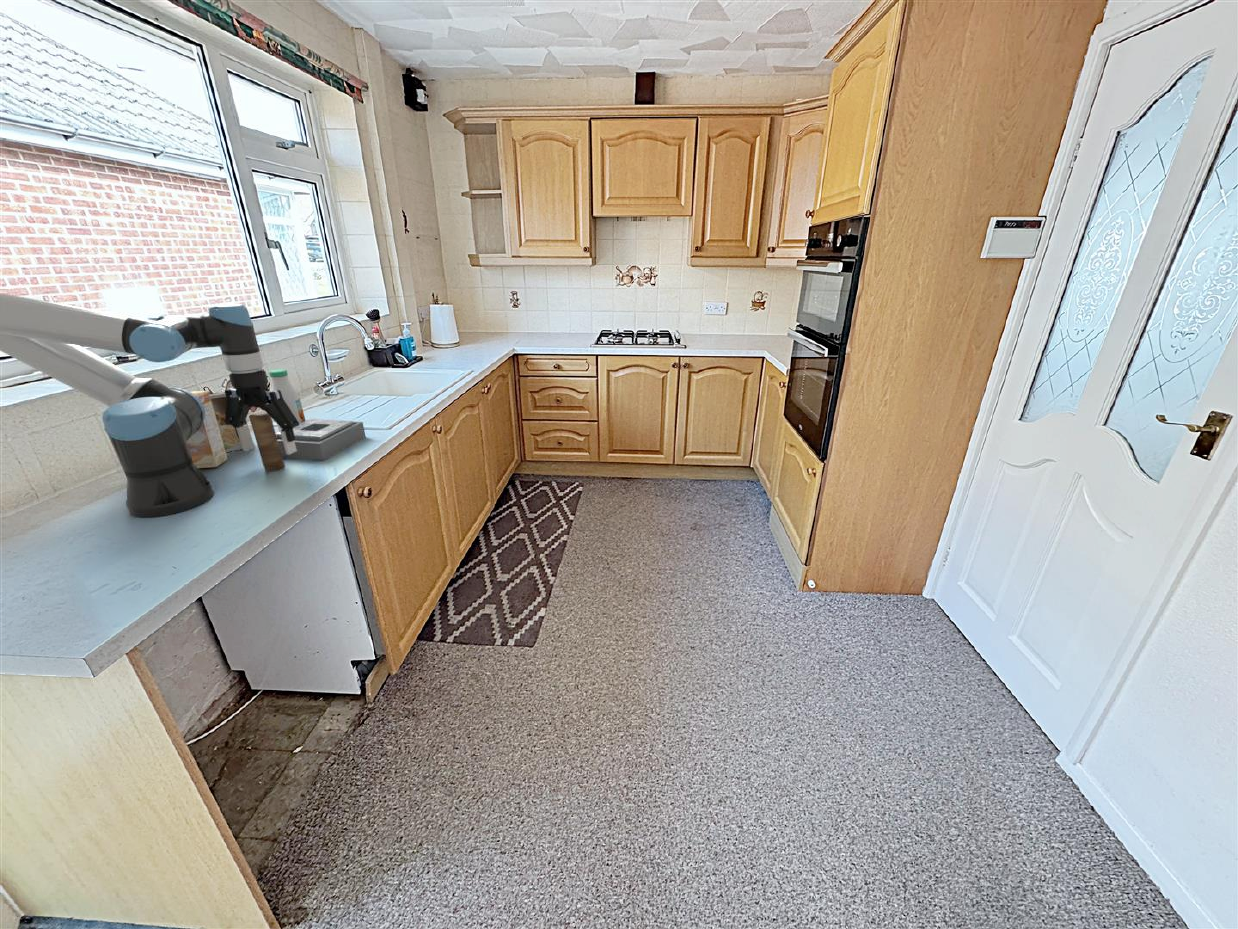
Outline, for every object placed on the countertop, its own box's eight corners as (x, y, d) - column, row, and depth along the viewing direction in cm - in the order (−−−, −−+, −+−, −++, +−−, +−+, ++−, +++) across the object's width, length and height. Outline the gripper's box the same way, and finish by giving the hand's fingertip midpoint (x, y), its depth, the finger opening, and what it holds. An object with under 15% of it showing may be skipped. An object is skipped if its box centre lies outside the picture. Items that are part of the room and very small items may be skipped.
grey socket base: (323, 460, 139) (319, 443, 137) (269, 456, 141) (264, 439, 139) (365, 437, 156) (362, 421, 154) (316, 433, 158) (312, 418, 156)
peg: (276, 472, 131) (260, 417, 125) (260, 471, 132) (244, 416, 126) (289, 465, 135) (274, 412, 129) (274, 464, 136) (258, 411, 130)
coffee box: (251, 441, 152) (236, 389, 145) (255, 447, 147) (239, 394, 141) (214, 448, 146) (196, 395, 140) (216, 455, 142) (198, 400, 135)
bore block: (324, 453, 141) (320, 436, 139) (279, 450, 143) (275, 433, 141) (355, 436, 153) (352, 421, 151) (314, 433, 155) (310, 418, 153)
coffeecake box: (149, 473, 129) (123, 398, 123) (165, 464, 135) (141, 393, 129) (216, 467, 133) (195, 394, 126) (228, 459, 139) (209, 389, 133)
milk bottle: (298, 436, 156) (282, 373, 148) (274, 436, 156) (256, 373, 148) (313, 428, 163) (297, 367, 155) (289, 428, 163) (273, 367, 155)
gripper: (301, 368, 125) (321, 448, 133) (217, 364, 128) (241, 443, 137) (278, 375, 118) (301, 459, 127) (189, 371, 121) (217, 453, 130)
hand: (270, 451), depth 132 cm, fingers open, 12 cm apart
